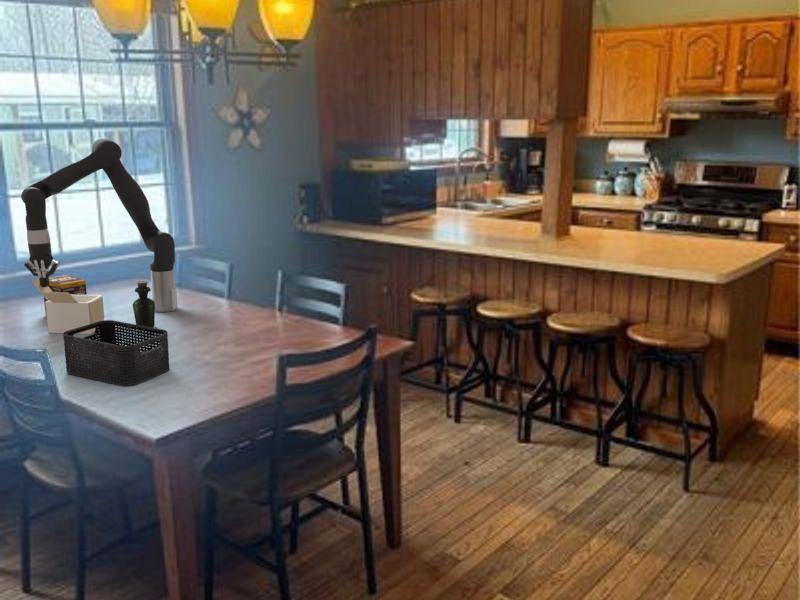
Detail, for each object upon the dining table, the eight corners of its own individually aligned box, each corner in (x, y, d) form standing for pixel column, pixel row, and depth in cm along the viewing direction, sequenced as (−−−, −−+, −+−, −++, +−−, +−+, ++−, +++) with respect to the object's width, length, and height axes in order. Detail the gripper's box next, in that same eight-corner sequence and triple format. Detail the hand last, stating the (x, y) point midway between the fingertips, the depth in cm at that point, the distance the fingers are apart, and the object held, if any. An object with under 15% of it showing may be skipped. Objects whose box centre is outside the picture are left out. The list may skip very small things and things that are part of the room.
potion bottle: (134, 331, 271) (131, 285, 267) (134, 325, 279) (130, 280, 274) (157, 329, 274) (154, 283, 270) (155, 323, 282) (152, 279, 277)
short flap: (40, 276, 272) (39, 277, 272) (32, 280, 266) (31, 280, 266) (55, 295, 273) (54, 295, 273) (47, 299, 268) (46, 299, 268)
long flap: (67, 292, 256) (67, 293, 256) (78, 302, 264) (78, 303, 264) (41, 291, 256) (41, 292, 256) (52, 301, 264) (52, 302, 264)
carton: (106, 324, 279) (103, 294, 277) (92, 333, 267) (89, 302, 264) (64, 323, 280) (61, 294, 277) (48, 332, 268) (45, 301, 265)
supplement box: (65, 322, 282) (61, 284, 278) (45, 316, 291) (41, 278, 287) (89, 317, 290) (86, 279, 286) (69, 311, 299) (66, 274, 295)
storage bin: (174, 369, 231) (172, 329, 228) (130, 389, 214) (126, 346, 211) (109, 356, 242) (105, 318, 239) (61, 374, 225) (57, 333, 222)
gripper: (15, 243, 262) (22, 289, 266) (51, 243, 261) (57, 289, 266) (26, 239, 269) (33, 284, 273) (61, 239, 269) (67, 284, 273)
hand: (45, 286), depth 269 cm, fingers closed
